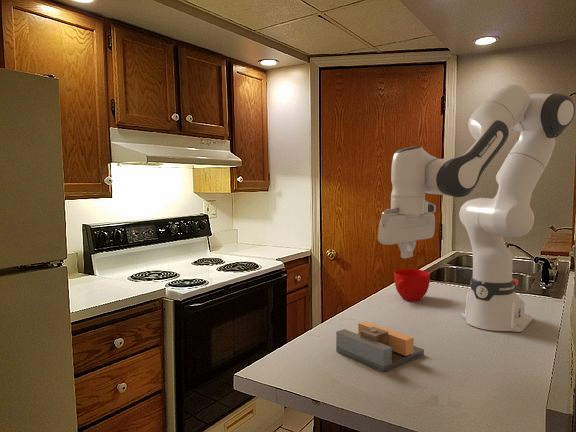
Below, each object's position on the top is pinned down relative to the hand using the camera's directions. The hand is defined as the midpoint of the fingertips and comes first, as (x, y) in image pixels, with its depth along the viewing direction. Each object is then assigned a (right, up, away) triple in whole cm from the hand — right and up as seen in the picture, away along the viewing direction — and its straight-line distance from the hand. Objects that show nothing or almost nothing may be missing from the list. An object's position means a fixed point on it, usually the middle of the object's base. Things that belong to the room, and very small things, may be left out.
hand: (406, 257), depth 118 cm
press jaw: (-7, -23, -3) cm, 24 cm away
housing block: (-10, -23, -6) cm, 26 cm away
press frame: (-8, -25, -4) cm, 26 cm away
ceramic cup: (+13, -20, +43) cm, 49 cm away
